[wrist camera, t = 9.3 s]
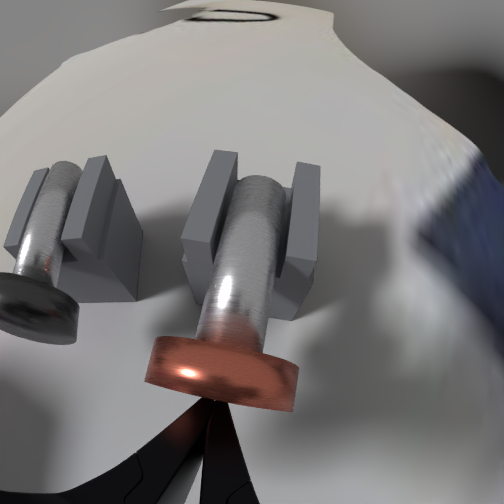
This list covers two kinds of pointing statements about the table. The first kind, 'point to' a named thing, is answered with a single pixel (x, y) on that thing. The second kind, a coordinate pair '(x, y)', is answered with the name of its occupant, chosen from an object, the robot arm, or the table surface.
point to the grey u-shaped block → (91, 236)
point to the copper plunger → (235, 313)
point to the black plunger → (42, 268)
